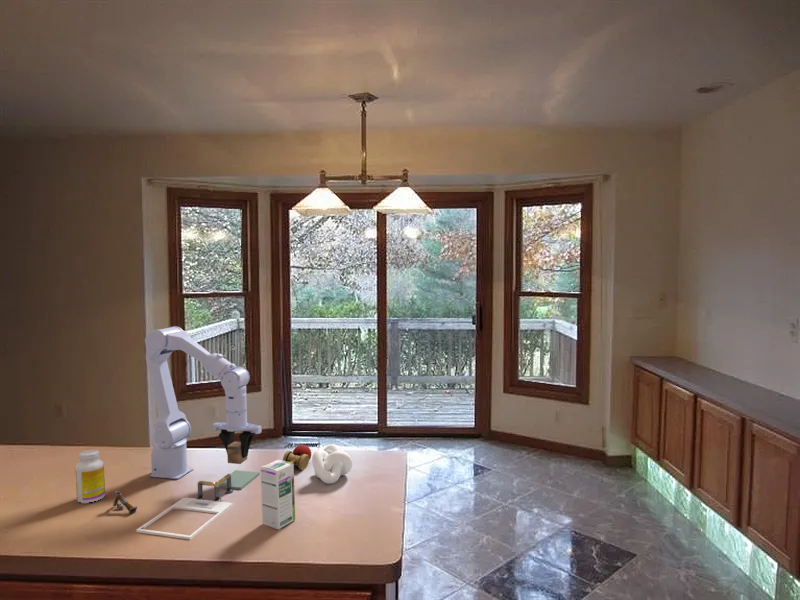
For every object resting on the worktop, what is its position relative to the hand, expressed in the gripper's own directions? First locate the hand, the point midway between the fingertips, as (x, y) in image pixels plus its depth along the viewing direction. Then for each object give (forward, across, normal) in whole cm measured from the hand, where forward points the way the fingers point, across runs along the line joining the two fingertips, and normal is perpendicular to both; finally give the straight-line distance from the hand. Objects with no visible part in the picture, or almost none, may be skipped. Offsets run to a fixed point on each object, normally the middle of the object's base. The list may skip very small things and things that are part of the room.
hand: (237, 455), depth 155 cm
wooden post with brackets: (+8, -19, -24) cm, 31 cm away
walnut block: (+1, 0, 0) cm, 1 cm away
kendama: (+8, +12, +11) cm, 18 cm away
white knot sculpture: (+8, +26, +8) cm, 29 cm away
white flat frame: (+8, -1, -23) cm, 25 cm away
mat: (+7, 0, 0) cm, 7 cm away
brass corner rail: (+7, 0, -10) cm, 13 cm away
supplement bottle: (+8, -32, -20) cm, 39 cm away
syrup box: (+8, +22, -20) cm, 31 cm away
